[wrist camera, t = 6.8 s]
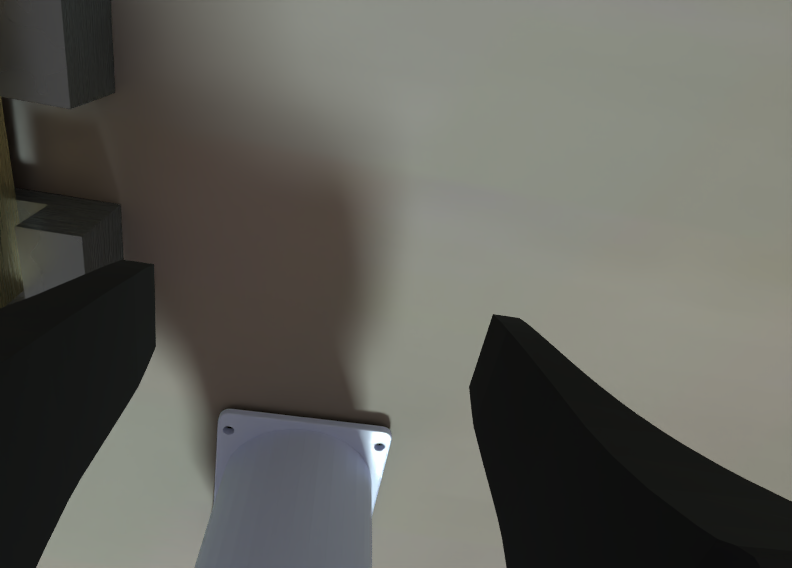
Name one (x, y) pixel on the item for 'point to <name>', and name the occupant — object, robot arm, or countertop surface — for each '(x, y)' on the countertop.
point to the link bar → (8, 225)
